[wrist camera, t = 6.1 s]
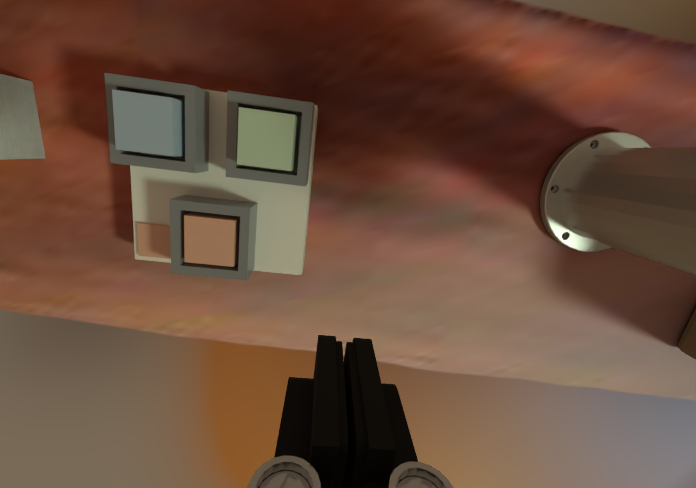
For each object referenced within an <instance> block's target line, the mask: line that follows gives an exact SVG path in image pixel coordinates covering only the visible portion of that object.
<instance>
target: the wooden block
mask: <svg viewBox="0 0 696 488" xmlns="http://www.w3.org/2000/svg"><path fill="white" fill-rule="evenodd" d="M678 348H679V349H680V350H681V351H682V352H684V353H685V354H687V355H689V356H691V357H692V358H694V359H696V308H695V310H694V312H693V314H692V316H691V318H690V320H689V322H688V324H687V326H686V328H685V331H684V333H683V335H682V337H681V339H680V341H679V343H678Z"/></svg>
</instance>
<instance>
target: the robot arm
mask: <svg viewBox="0 0 696 488" xmlns="http://www.w3.org/2000/svg"><path fill="white" fill-rule="evenodd" d="M540 213H541V217H542V221H543V223H544V225H545V227H546V229H547V231H548V232H549V234H550V235H551V236H552V237H553V238H554V239H555V240H556V241H558V242H559V243H560V244H562V245H565V246H567V247H569V248H572V249H575V250H578V251H584V252H596V251H602V250H606V249H610V248H612V247H613V248H616V249H619V250H622V251H625V252H628V253H631V254H634V255H637V256H640V257H643V258H646V259H649V260H652V261H655V262H658V263H661V264H664V265H667V266H670V267H673V268H676V269H679V270H681V271H684V272H687V273H690V274H693V275H696V147H660V148H652V147H651V146H650V145H649V144H648V143H646V142H645V141H644V140H643V139H641V138H639V137H637V136H636V135H633V134H629V133H625V132H605V133H599V134H595V135H591V136H588V137H586V138H584V139H582V140H580V141H578V142H576V143H575V144H573V145H572V146H571V147H569V148H568V149H567V150H566V151H565V152H564V153H563V154H561V155H560V156H559V157H558V159H557V160H556V161H555V163H554V164H553V165H552V167H551V168H550V170H549V172H548V174H547V176H546V178H545V181H544V184H543V187H542V190H541V196H540ZM247 488H453V486H452V485H451V483H450V482H449V481H448V479H447V478H446V477H445V476H444V475H443V474H442V473H441V472H440V471H438V470H436V469H435V468H433V467H432V466H430V465H427V464H424V463H421V462H418V460H417V456H416V453H415V449H414V446H413V442H412V439H411V435H410V432H409V428H408V425H407V421H406V418H405V414H404V411H403V407H402V404H401V400H400V397H399V394H398V390H397V387H396V386H395V385H394V384H381V380H380V376H379V371H378V367H377V362H376V358H375V353H374V349H373V344H372V340H371V339H362V338H354V339H353V342H347V344H346V350H345V357H344V364H343V349H342V342H341V341H336V337H335V336H325V335H318V343H317V352H316V362H315V369H314V378H313V379H308V378H294V377H289V380H288V385H287V391H286V396H285V402H284V408H283V412H282V418H281V424H280V429H279V435H278V441H277V446H276V452H275V457H274V458H272V459H271V460H269V461H267V462H265V463H264V464H262V465H261V466H260V467H259V468H258V469H257V470H256V472H255V473H254V475H253V476H252V478H251V480H250V482H249V484H248V487H247Z"/></svg>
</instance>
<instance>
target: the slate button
mask: <svg viewBox="0 0 696 488" xmlns="http://www.w3.org/2000/svg"><path fill="white" fill-rule="evenodd" d="M112 98H113V114H114V130H115V145H116V149H117V150H125V151H133V152H141V153H149V154H157V155H165V156H185V102H183V101H180V100H177V99H174V98H170V97H163V96H156V95H149V94H141V93H134V92H127V91H120V90H113V89H112Z"/></svg>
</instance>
